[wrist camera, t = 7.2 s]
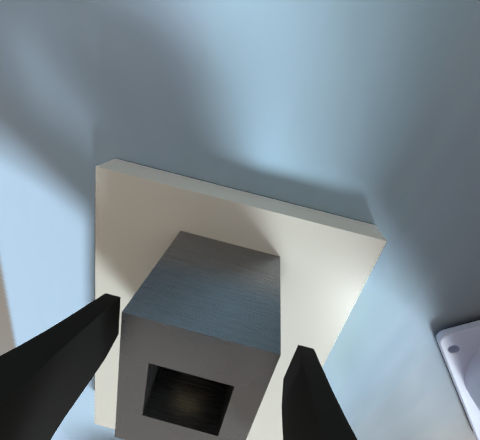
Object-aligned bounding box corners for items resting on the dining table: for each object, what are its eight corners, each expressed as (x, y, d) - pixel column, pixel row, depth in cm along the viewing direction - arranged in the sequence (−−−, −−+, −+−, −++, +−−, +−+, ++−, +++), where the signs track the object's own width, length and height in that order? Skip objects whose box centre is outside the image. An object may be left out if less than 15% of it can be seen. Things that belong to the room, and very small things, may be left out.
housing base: (114, 158, 13) (24, 193, 8) (375, 225, 13) (429, 299, 8) (107, 401, 20) (57, 489, 16) (269, 446, 20) (266, 549, 16)
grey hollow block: (180, 230, 12) (121, 311, 8) (280, 256, 12) (280, 354, 8) (165, 330, 15) (114, 436, 10) (247, 352, 15) (233, 469, 10)
